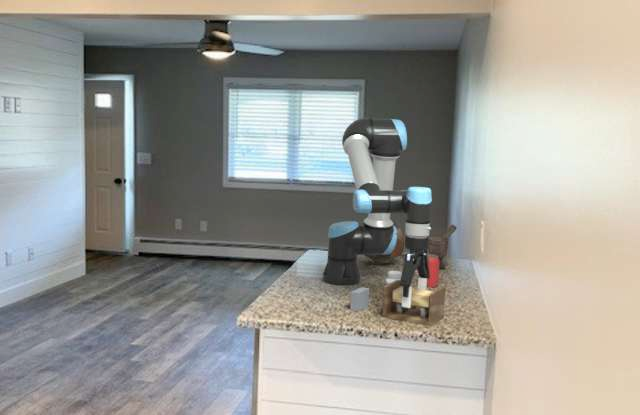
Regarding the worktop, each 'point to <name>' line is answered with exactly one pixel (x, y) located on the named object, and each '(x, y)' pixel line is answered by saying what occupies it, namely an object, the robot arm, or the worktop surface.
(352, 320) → the worktop surface
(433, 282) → the beer can
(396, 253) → the vase
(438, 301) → the peg frame
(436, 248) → the mortar and pestle
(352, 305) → the riser block
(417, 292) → the shelf board
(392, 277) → the pill bottle
